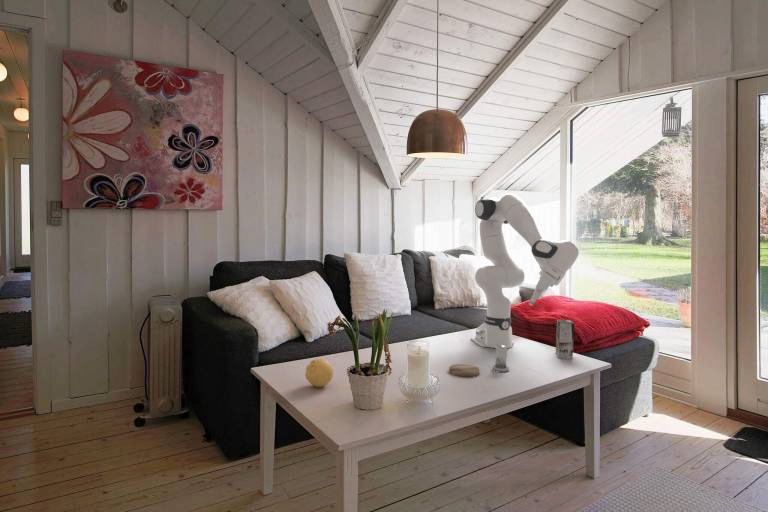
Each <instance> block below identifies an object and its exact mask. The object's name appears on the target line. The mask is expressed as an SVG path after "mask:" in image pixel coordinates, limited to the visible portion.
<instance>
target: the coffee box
mask: <svg viewBox="0 0 768 512" xmlns="http://www.w3.org/2000/svg"><path fill="white" fill-rule="evenodd" d="M555 336H556V337H555V339H556V340H555V354H556V356H557V358H558V359H565V358H566V360H567V359H568V360H572V359H573V355H574V342H575V341H574V336H575V322H574V321H573V320H572V319H556V335H555Z"/></svg>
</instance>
